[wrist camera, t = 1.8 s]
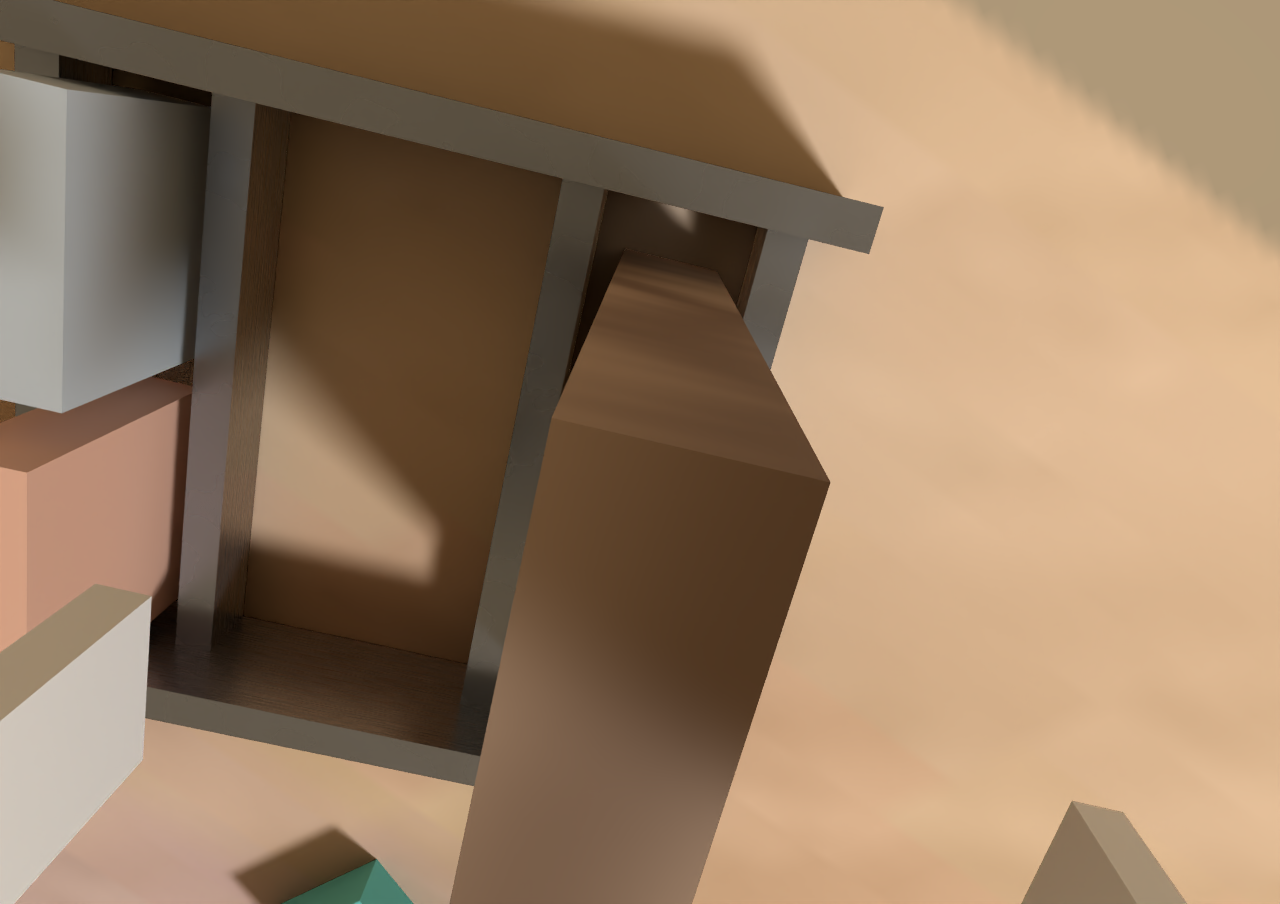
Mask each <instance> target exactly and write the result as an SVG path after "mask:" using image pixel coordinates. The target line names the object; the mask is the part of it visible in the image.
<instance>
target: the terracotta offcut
mask: <svg viewBox="0 0 1280 904" xmlns="http://www.w3.org/2000/svg"><path fill="white" fill-rule="evenodd" d="M192 387H193V386H190V385H186V384H182V383H177V382H173V381H168V380H164V379H160V378H155V377H148V378H146V379H143V380H141V381H139V382H136V383H134V384H131V385H129V386H127V387H124V388H122V389H119V390H117V391H114V392H112V393H110V394H107V395H105V396H102V397H100V398H98V399H95V400H93V401H90V402H88V403H85V404H83V405H81V406H78V407H76V408H73V409H71V410H69V411H66V412H64V413H58V412H54V411H49V410H45V409H40V408H37V409H34V410H31V411H29V412H26V413H24V414H21V415H18V416H16V417H13V418H11V419H8V420H6V421H3V422H0V652H2V651H3V650H4V649H6V648H7V647H8V646H10V645H11V644H13V643H14V642H15V641H17V640H18V639H20V638H21V637H22V636H24V635H25V634H26V633H28V632H29V631H31V630H32V629H33V628H35V627H36V626H38V625H39V624H40V623H42V622H43V621H44V620H46V619H47V618H49V617H50V616H51V615H53V614H54V613H56V612H57V611H58V610H60V609H61V608H62V607H64V606H65V605H67V604H68V603H69V602H71V601H72V600H74V599H75V598H76V597H78V596H79V595H80V594H82V593H83V592H85V591H86V590H87V589H89V588H90V587H92V586H93V585H94V584H99V585H104V586H108V587H113V588H117V589H122V590H126V591H131V592H135V593H140V594H144V595H149V596H152V600H151V619H150V622H151V621H153V620H154V619H155V618H156V617H157V616H158V615H159V614H160V613H162V612H163V611H164V610H165V609H166V608H167V607H168V606H169V605H170V604H172V603H173V602H174V601H175V600H176V599H177V598H178V596H179V581H180V566H181V552H182V537H183V522H184V507H185V492H186V477H187V462H188V447H189V432H190V417H191V402H192Z"/></svg>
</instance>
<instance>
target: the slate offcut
mask: <svg viewBox="0 0 1280 904" xmlns="http://www.w3.org/2000/svg"><path fill="white" fill-rule="evenodd" d="M210 119H211V107H210V106H206V105H202V104H198V103H194V102H190V101H186V100H182V99H178V98H173V97H169V96H165V95H161V94H157V93H153V92H149V91H145V90H139V89H133V88H126V87H119V86H112V85H105V84H99V83H92V82H85V81H78V80H71V79H65V78H58V77H51V76H44V75H37V74H30V73H24V72H17V71H10V70H3V69H0V400H5V401H9V402H14V403H18V404H23V405H27V406H31V407H36V408H40V409H45V410H49V411H54V412H58V413H64V412H66V411H69V410H71V409H73V408H76V407H78V406H81V405H83V404H85V403H88V402H90V401H93V400H95V399H98V398H100V397H102V396H105V395H107V394H110V393H112V392H114V391H117V390H119V389H122V388H124V387H127V386H129V385H131V384H134V383H136V382H139V381H141V380H143V379H146V378H148V377H151V376H153V375H156V374H158V373H160V372H163V371H165V370H168V369H170V368H172V367H175V366H177V365H180V364H182V363H185V362H187V361H189V360H192V359H194V358H195V343H196V328H197V313H198V298H199V283H200V268H201V253H202V238H203V223H204V208H205V194H206V179H207V164H208V149H209V134H210Z"/></svg>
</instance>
